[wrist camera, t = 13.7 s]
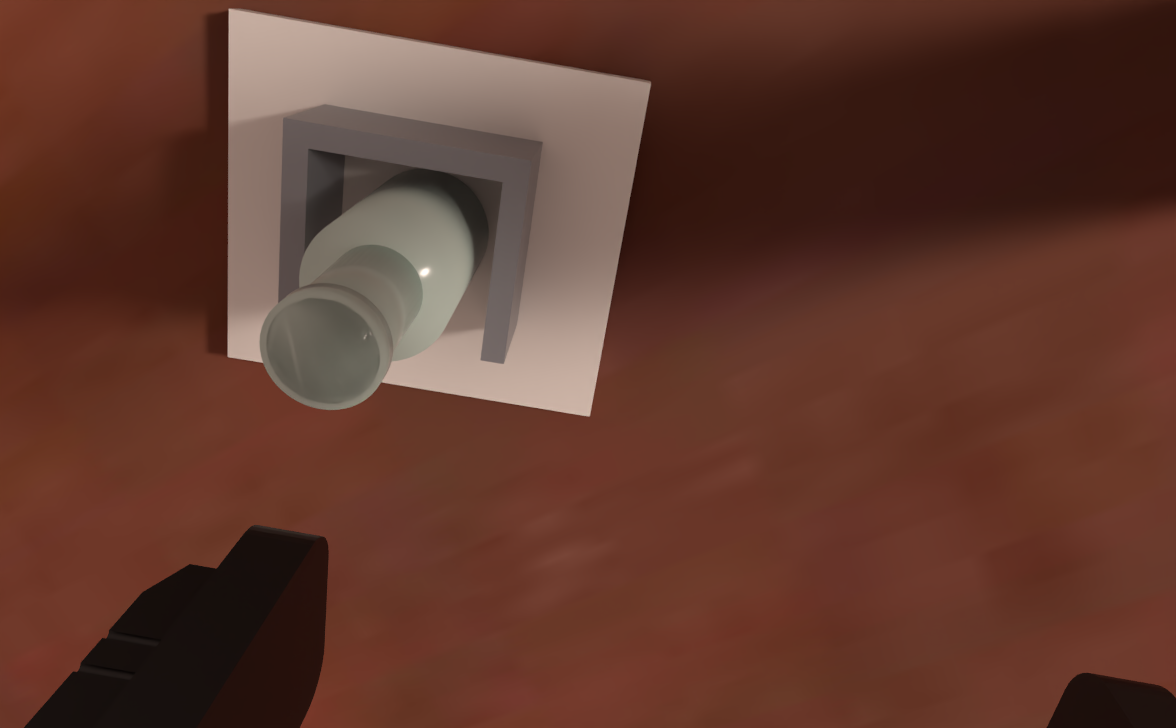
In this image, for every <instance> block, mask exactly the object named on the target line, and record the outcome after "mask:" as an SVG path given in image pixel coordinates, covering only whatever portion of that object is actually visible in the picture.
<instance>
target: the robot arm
mask: <svg viewBox="0 0 1176 728" xmlns="http://www.w3.org/2000/svg"><path fill="white" fill-rule="evenodd" d="M327 577H328V543H327V540H326V538H325V537H322V536H316V535H311V534H305V533H299V532H294V531H288V530H282V529H276V528H271V527H265V526H259V525H254V526H252V527H250V528H249V529H248V530H247V531H246V532H245V533H244V534H243V536H242V537H241V538H240V540H239V541H238V542H237V543H236V545H235V546H234V547H233V549H232V550H231V551H230V552H229V554H228V555H227V556H226V558H225V559H224V560H223V561H222V563H221V564H220V565H219V566H218V568H217V569H215V568H209V567H203V566H198V565H192V564H189V565H188V566H186V567H184V568H183V569H181V570H179V571H178V572H176V573H174V574H173V575H171V576H169V577H168V578H166V579H164V580H162V581H161V582H159V583H157V584H156V585H154V586H152V587H151V588H149V589H147V590H146V591H144V592H142V593H141V595H140V596H139V597H138V598H137V599H136V600H135V601H134V603H133V604H132V605H131V606H130V607H129V608H128V609H127V611H126V612H125V613H124V614H123V615H122V616H121V617H120V619H119V620H118V621H117V622H116V623H115V624H114V625H113V627H112V628H111V629H110V630H109V634H108V637H107V638H106V639H105V638H102V639H101V640H100V641H99V643H98V644H97V645H96V646H95V647H94V648H93V649H92V651H91V652H90V653H89V654H88V655H87V656H86V657H85V659H84V660H83V661H82V662H81V665H80V668H79V670H78V672H74V671H73V672H72V673H71V675H70V676H69V677H68V678H67V679H66V680H65V681H64V682H63V684H62V685H61V686H60V687H59V688H58V689H57V690H56V692H55V693H54V694H53V695H52V696H51V697H50V698H49V700H48V701H47V702H46V703H45V704H44V705H43V706H42V708H41V709H40V710H39V711H38V712H37V713H36V714H35V716H34V717H33V718H32V719H31V720H30V721H29V722H28V724H27V725H26V726H25V727H24V728H300V726H301V724H302V722H303V720H304V718H305V716H306V713H307V711H308V709H309V707H310V704H311V702H312V699H313V696H314V693H315V690H316V687H317V684H318V680H319V676H320V672H321V667H322V662H323V655H324V642H325V621H326V599H327ZM1047 728H1176V698H1175V697H1174V696H1173V694H1172V693H1170V692H1169V691H1168V690H1167V689H1165V688H1163V687H1161V686H1158V685H1154V684H1148V683H1143V682H1137V681H1131V680H1126V679H1120V678H1114V677H1108V676H1103V675H1097V674H1091V673H1082V674H1079V675H1077V676H1076V677H1074V678H1073V679H1072V680H1071V681H1070V683H1069V684H1068V686H1067V687H1066V689H1065V691H1064V693H1063V695H1062V697H1061V699H1060V701H1059V704H1058V706H1057V708H1056V710H1055V712H1054V714H1053V716H1052V718H1051V720H1050V722H1049V724H1048V726H1047Z"/></svg>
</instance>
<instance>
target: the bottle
mask: <svg viewBox="0 0 1176 728" xmlns="http://www.w3.org/2000/svg"><path fill="white" fill-rule="evenodd" d="M488 239H489V228H488V221H487V217H486V214H485V211H484V209H483V207H482V205H481V202H480V201H479V199H478V198H477V196H476V195H475V194H474V193H473V191H472V190H471V189H470V188H469V187H468V186H467V185H466V184H464V183H463V182H462V181H460V180H459V179H457V178H456V177H454V176H452V175H450V174H448V173H445V172H441V171H435V170H429V169H424V168H423V169H412V170H408V171H404V172H401V173H399V174H397V175H395V176H393V177H392V178H390V179H389V180H387V181H386V182H385V183H383V184H382V185H381V186H379V187H378V188H377V189H375V190H374V191H373V192H371V193H370V194H369V195H367V196H366V197H365V198H364V199H362V200H361V201H360V202H358V203H357V204H356V205H354V206H353V207H352V208H350V209H349V210H348V211H346V212H345V213H344V214H342V215H341V216H340V217H338V218H337V219H336V220H334V221H333V222H332V223H330V224H329V225H328V226H326V227H325V228H324V229H323V230H321V231H320V232H319V233H318V234H317V235H316V236H315V238H314V239H313V240H312V241H311V243H310V244H309V246H308V248H307V249H306V251H305V254H304V256H303V258H302V262H301V266H300V273H299V288H298V289H296V290H294V291H293V292H291V293H290V294H288V295H287V296H286V297H285V298H284V299H283V300H282V301H280V302H279V303H278V304H277V305H276V306H275V307H274V308H273V309H272V310H271V311H270V312H269V314H268V315H267V317H266V319H265V320H264V323H263V325H262V328H261V333H260V341H259V343H260V353H261V358H262V361H263V364H264V366H265V368H266V370H267V372H268V374H269V375H270V377H271V379H272V380H273V381H274V382H275V384H276V385H277V386H278V387H279V388H280V389H281V390H282V391H283V392H285V393H286V394H287V395H288V396H290V397H291V398H293V399H295V400H296V401H298V402H300V403H302V404H305V405H307V406H310V407H314V408H318V409H325V410H338V409H345V408H349V407H352V406H354V405H357V404H359V403H361V402H363V401H364V400H366V399H367V398H368V397H369V396H371V395H372V394H373V393H374V391H375V390H376V389H377V388H378V386H379V385H380V383H381V382H382V380H383V379H384V377H385V375H386V374H387V372H388V370H389V368H390V365H391V362H392V361H399V360H403V359H407V358H410V357H412V356H415V355H417V354H419V353H421V352H422V351H424V350H426V349H427V348H428V347H429V346H431V345H432V344H433V343H434V342H435V341H436V340H437V339H438V338H439V336H440V335H441V334H442V332H443V331H444V329H445V327H446V325H447V324H448V322H449V320H450V318H451V316H452V314H453V313H454V311H455V309H456V307H457V305H458V303H459V302H460V300H461V298H462V296H463V294H464V292H465V291H466V289H467V287H468V285H469V283H470V281H471V280H472V278H473V276H474V274H475V272H476V270H477V269H478V267H479V265H480V263H481V261H482V259H483V257H484V255H485V252H486V249H487V245H488Z"/></svg>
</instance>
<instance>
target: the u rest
mask: <svg viewBox="0 0 1176 728" xmlns="http://www.w3.org/2000/svg"><path fill="white" fill-rule="evenodd" d="M650 87H651V82H650V81H648V80H642V79H636V78H631V77H625V76H619V75H614V74H608V73H602V72H597V71H591V70H585V69H580V68H574V67H568V66H563V65H557V64H551V63H546V62H540V61H534V60H529V59H523V58H517V57H512V56H506V55H500V54H495V53H489V52H483V51H478V50H472V49H466V48H461V47H455V46H449V45H444V44H438V43H432V42H427V41H421V40H415V39H410V38H404V37H398V36H393V35H387V34H381V33H376V32H370V31H364V30H359V29H353V28H347V27H342V26H336V25H330V24H325V23H319V22H313V21H308V20H302V19H296V18H291V17H285V16H279V15H274V14H268V13H262V12H257V11H251V10H245V9H229V89H228V357H231V358H237V359H243V360H249V361H255V362H261V363H263V361H262V358H261V353H260V343H259V341H260V333H261V328H262V325H263V323H264V320H265V319H266V317H267V315H268V314H269V312H270V311H271V310H272V309H273V308H274V307H275V306H276V305H277V304H278V303H279V302H280V301H282V300H283V299H284V298H285V297H286V296H287V295H288V294H290V293H291V292H293V291H294V290H296V289H298V288H299V273H300V266H301V262H302V258H303V256H304V254H305V251H306V249H307V248H308V246H309V244H310V243H311V241H312V240H313V239H314V238H315V236H316V235H317V234H318V233H319V232H320V231H321V230H323V229H324V228H325V227H326V226H328V225H329V224H330V223H332V222H333V221H334V220H336V219H337V218H338V217H340V216H341V215H342V214H344V213H345V212H346V211H348V210H349V209H350V208H352V207H353V206H354V205H356V204H357V203H358V202H360V201H361V200H362V199H364V198H365V197H366V196H367V195H369V194H370V193H371V192H373V191H374V190H375V189H377V188H378V187H379V186H381V185H382V184H383V183H385V182H386V181H387V180H389V179H390V178H392V177H393V176H395V175H397V174H399V173H401V172H404V171H408V170H412V169H423V168H424V169H429V170H435V171H441V172H445V173H448V174H450V175H452V176H454V177H456V178H457V179H459V180H460V181H462V182H463V183H464V184H466V185H467V186H468V187H469V188H470V189H471V190H472V191H473V193H474V194H475V195H476V196H477V198H478V199H479V201H480V202H481V205H482V207H483V209H484V211H485V214H486V217H487V221H488V228H489V239H488V245H487V249H486V252H485V255H484V257H483V259H482V261H481V263H480V265H479V267H478V269H477V270H476V272H475V274H474V276H473V278H472V280H471V281H470V283H469V285H468V287H467V289H466V291H465V292H464V294H463V296H462V298H461V300H460V302H459V303H458V305H457V307H456V309H455V311H454V313H453V314H452V316H451V318H450V320H449V322H448V324H447V325H446V327H445V329H444V331H443V332H442V334H441V335H440V336H439V338H438V339H437V340H436V341H435V342H434V343H433V344H432V345H431V346H429V347H428V348H427V349H426V350H424V351H422V352H421V353H419V354H417V355H415V356H412V357H410V358H407V359H403V360H399V361H392V362H391V365H390V368H389V370H388V372H387V374H386V375H385V377H384V379H383V380H382V382H383V383H389V384H395V385H401V386H407V387H413V388H419V389H425V390H431V391H437V392H443V393H449V394H456V395H462V396H468V397H474V398H480V399H486V400H492V401H498V402H504V403H510V404H516V405H522V406H528V407H534V408H540V409H547V410H553V411H559V412H565V413H571V414H577V415H583V416H589V417H590V412H591V407H592V401H593V396H594V390H595V385H596V380H597V374H598V369H599V363H600V358H601V352H602V347H603V342H604V336H605V331H606V325H607V320H608V314H609V309H610V304H611V298H612V293H613V287H614V282H615V276H616V271H617V266H618V260H619V255H620V249H621V244H622V239H623V233H624V228H625V222H626V217H627V211H628V206H629V201H630V195H631V190H632V184H633V179H634V173H635V168H636V163H637V157H638V152H639V146H640V141H641V135H642V130H643V125H644V119H645V114H646V108H647V103H648V97H649V92H650Z"/></svg>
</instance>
